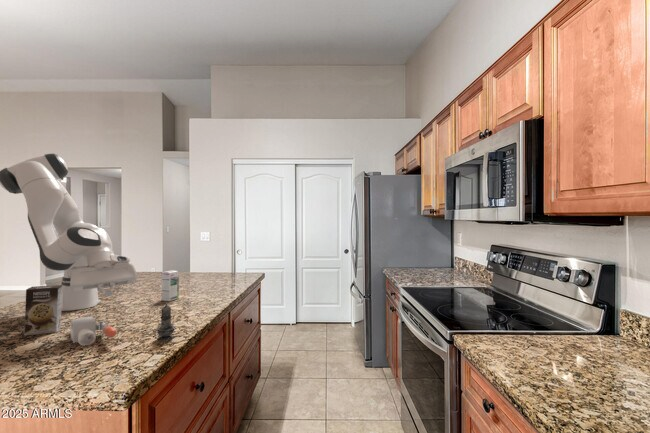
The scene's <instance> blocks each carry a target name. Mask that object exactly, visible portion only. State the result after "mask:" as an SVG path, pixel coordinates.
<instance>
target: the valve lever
mask: <svg viewBox="0 0 650 433" xmlns="http://www.w3.org/2000/svg"><path fill="white" fill-rule="evenodd" d="M98 324H99V331H101V332H103V334H104V335H106V336H107V337H108V338H115V336H116V335H117V333H118V332H117V330H116V329H115V328H114V327H112V326H111V325H109V324H107V323H106V321H105V320H102V321H100V322H98Z"/></svg>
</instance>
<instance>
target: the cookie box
mask: <svg viewBox="0 0 650 433" xmlns="http://www.w3.org/2000/svg"><path fill="white" fill-rule="evenodd" d="M61 303H62V285H61V284H56V285H55V284H54V285H40V286H38V285H37V286H31V287H28V288H27V289H26V290H25V311H24V313H25V314H24V315H25V316H24V334H23V335H24V336H30V335H31V336H32V335H40V334H41V335H42V334H50V333H57V332H58V331H59V330H60V329H61V327H62V311H61Z"/></svg>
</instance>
